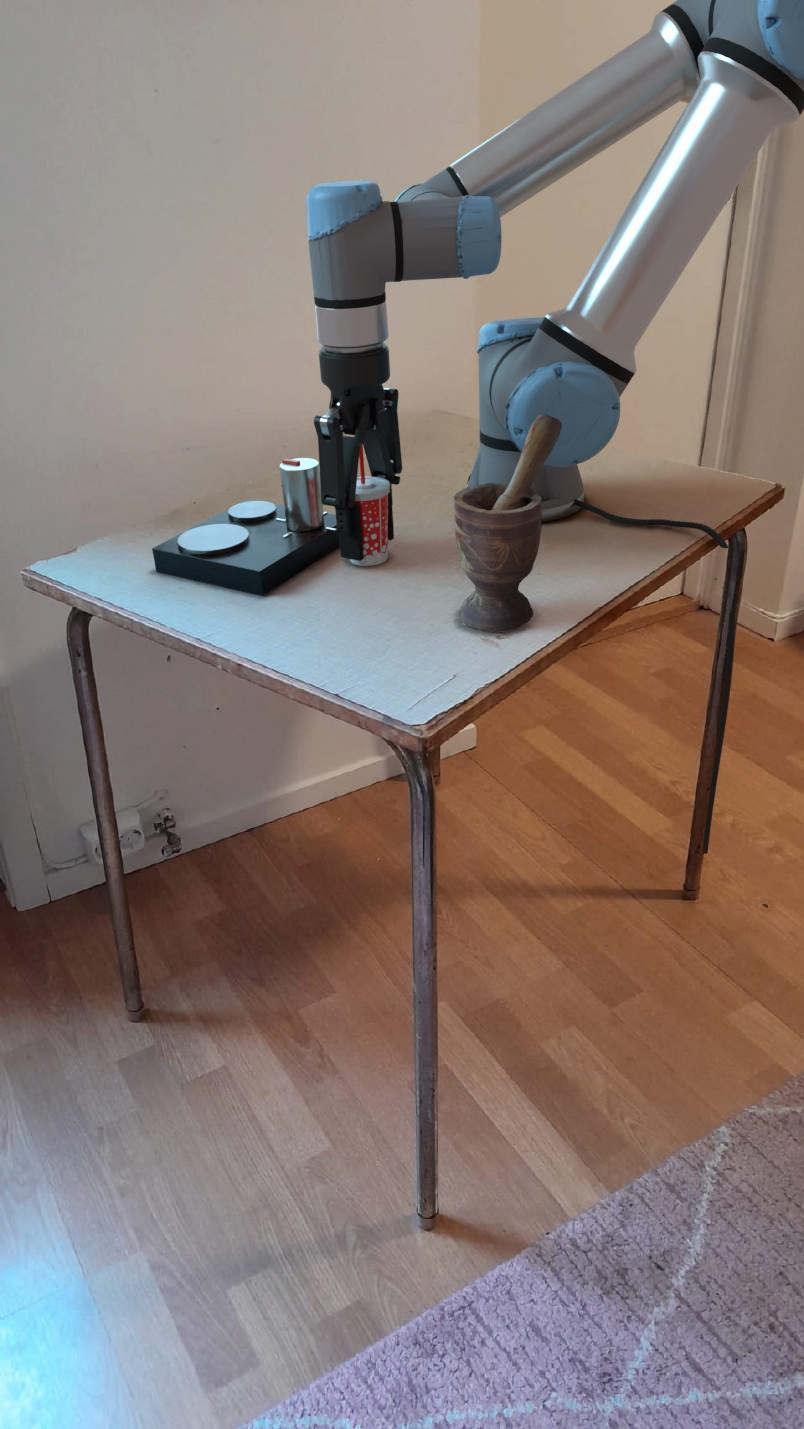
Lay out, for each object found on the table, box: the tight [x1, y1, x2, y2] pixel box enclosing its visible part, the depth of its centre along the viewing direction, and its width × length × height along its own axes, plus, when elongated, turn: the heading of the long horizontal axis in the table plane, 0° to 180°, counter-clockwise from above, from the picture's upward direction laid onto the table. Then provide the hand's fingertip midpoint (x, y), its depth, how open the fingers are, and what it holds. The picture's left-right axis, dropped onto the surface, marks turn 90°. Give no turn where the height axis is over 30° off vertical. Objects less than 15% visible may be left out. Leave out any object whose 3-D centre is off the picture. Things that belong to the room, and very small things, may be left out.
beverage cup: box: [345, 444, 390, 567], centre depth 120 cm, size 6×6×14 cm
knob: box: [279, 457, 325, 532], centre depth 124 cm, size 5×5×8 cm
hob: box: [151, 498, 340, 597], centre depth 125 cm, size 17×18×3 cm
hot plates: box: [177, 500, 277, 556], centre depth 126 cm, size 9×16×1 cm, turn 149°
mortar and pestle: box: [452, 413, 562, 633], centre depth 105 cm, size 12×9×20 cm
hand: (367, 547), depth 123 cm, fingers closed on beverage cup, 6 cm apart
